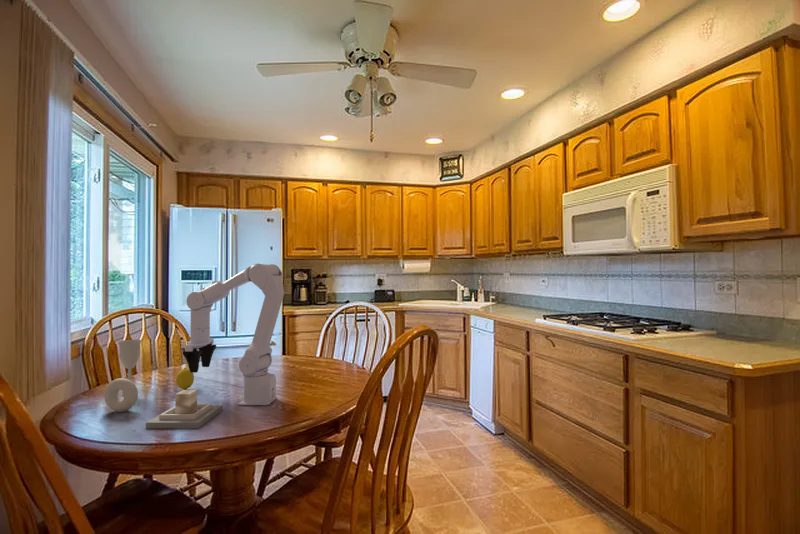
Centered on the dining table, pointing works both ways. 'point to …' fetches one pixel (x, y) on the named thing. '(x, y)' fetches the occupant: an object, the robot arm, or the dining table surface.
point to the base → (185, 417)
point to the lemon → (184, 379)
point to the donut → (129, 392)
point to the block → (186, 402)
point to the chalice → (129, 355)
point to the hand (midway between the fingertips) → (200, 369)
